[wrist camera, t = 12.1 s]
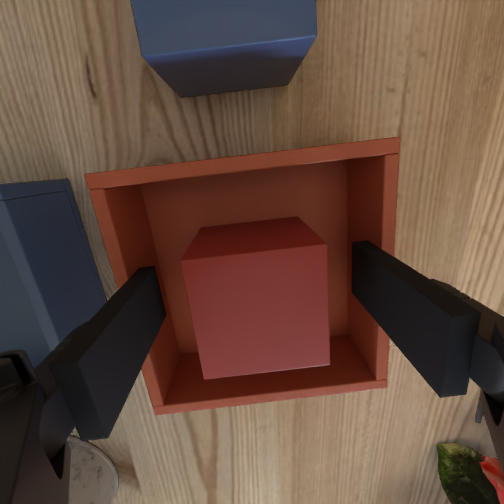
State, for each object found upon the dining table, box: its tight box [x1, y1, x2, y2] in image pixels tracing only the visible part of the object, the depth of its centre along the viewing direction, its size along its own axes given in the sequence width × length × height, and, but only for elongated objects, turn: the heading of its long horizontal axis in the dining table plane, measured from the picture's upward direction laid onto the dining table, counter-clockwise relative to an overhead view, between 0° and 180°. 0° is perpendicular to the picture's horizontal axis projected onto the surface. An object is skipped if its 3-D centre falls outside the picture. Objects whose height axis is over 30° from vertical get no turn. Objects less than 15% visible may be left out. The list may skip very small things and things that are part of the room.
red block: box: [180, 216, 330, 379], centre depth 13 cm, size 6×6×6 cm
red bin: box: [84, 137, 400, 415], centre depth 14 cm, size 12×12×4 cm
